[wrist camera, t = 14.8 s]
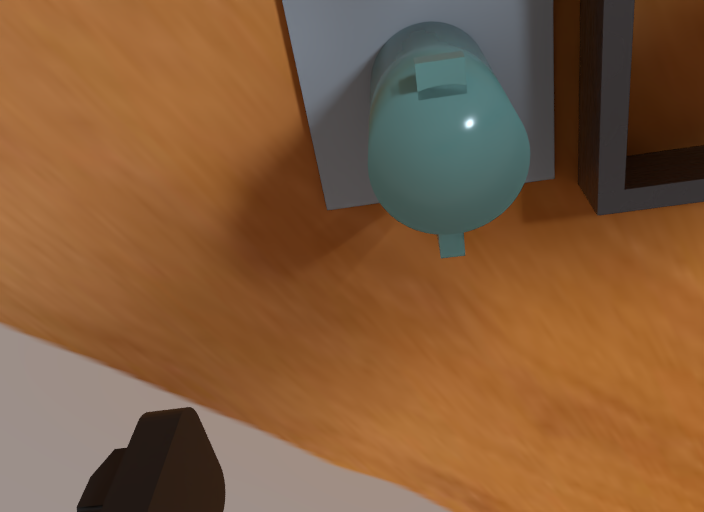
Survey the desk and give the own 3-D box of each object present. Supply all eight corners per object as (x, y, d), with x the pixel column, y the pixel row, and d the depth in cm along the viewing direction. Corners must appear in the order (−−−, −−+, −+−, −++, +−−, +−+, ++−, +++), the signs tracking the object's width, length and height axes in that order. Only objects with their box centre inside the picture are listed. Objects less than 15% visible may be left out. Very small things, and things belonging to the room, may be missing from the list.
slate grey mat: (550, -79, 28) (552, -78, 27) (552, 175, 34) (554, 178, 34) (277, -29, 29) (276, -27, 29) (327, 206, 35) (327, 210, 35)
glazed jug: (360, 13, 30) (353, 73, 21) (484, -7, 29) (528, 47, 20) (383, 184, 34) (386, 291, 25) (492, 170, 33) (532, 275, 25)
